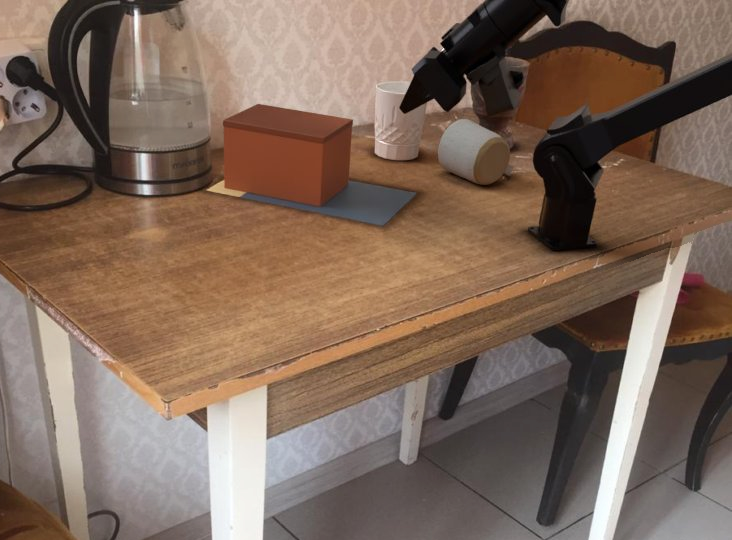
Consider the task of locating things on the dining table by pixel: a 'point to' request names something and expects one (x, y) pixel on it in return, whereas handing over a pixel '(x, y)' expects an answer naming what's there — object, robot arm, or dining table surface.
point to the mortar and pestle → (500, 121)
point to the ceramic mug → (474, 152)
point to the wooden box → (287, 154)
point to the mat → (343, 202)
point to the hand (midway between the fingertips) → (402, 110)
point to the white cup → (396, 123)
